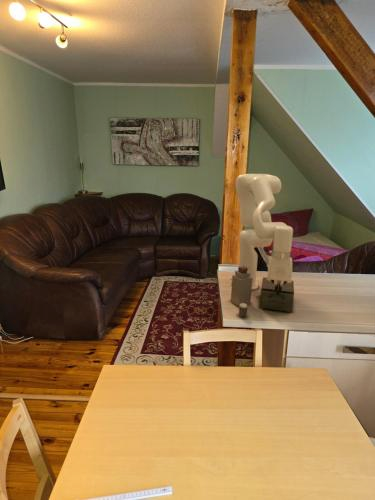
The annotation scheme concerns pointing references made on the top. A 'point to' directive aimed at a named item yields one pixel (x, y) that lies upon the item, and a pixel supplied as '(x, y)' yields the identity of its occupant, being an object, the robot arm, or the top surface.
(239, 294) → the perfume bottle
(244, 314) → the salt shaker
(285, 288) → the cabinet
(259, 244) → the robot arm
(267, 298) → the drawer
